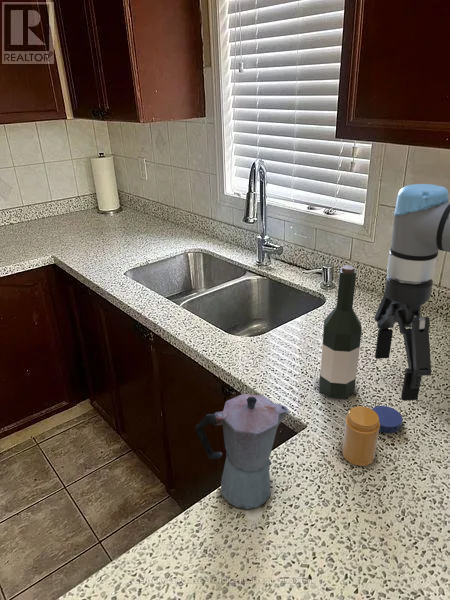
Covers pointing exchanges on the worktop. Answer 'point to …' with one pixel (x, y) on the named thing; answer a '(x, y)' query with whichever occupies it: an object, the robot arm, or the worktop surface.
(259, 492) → the moka pot
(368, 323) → the worktop surface
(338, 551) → the worktop surface
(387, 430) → the jam lid
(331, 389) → the wine bottle
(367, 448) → the jam jar
